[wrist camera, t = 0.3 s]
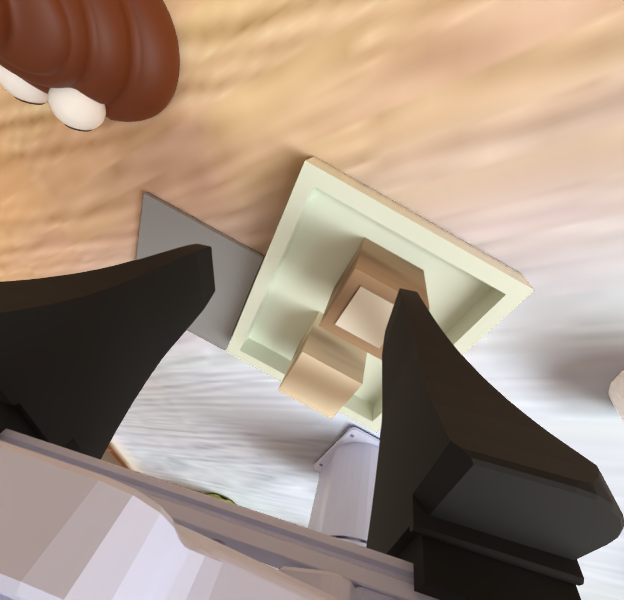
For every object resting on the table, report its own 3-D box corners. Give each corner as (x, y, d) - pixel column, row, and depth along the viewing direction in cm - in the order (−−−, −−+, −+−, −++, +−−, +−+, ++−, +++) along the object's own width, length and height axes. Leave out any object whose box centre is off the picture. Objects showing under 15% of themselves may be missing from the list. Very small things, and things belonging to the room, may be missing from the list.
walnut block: (386, 316, 23) (383, 362, 18) (333, 287, 23) (318, 326, 18) (423, 270, 20) (429, 310, 16) (364, 237, 20) (355, 268, 16)
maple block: (342, 372, 27) (331, 419, 22) (297, 347, 26) (278, 390, 22) (368, 338, 24) (362, 384, 20) (319, 311, 24) (302, 351, 20)
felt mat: (226, 347, 29) (224, 350, 29) (134, 298, 29) (131, 300, 28) (264, 256, 23) (262, 258, 23) (147, 191, 23) (143, 193, 22)
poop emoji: (200, -9, 16) (13, -129, 8) (174, 151, 21) (40, 170, 13) (31, -105, 16) (-327, -323, 8) (43, 79, 21) (-174, 54, 13)
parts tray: (377, 412, 29) (376, 432, 27) (237, 336, 28) (226, 351, 26) (521, 273, 19) (534, 290, 17) (314, 156, 19) (305, 160, 17)
